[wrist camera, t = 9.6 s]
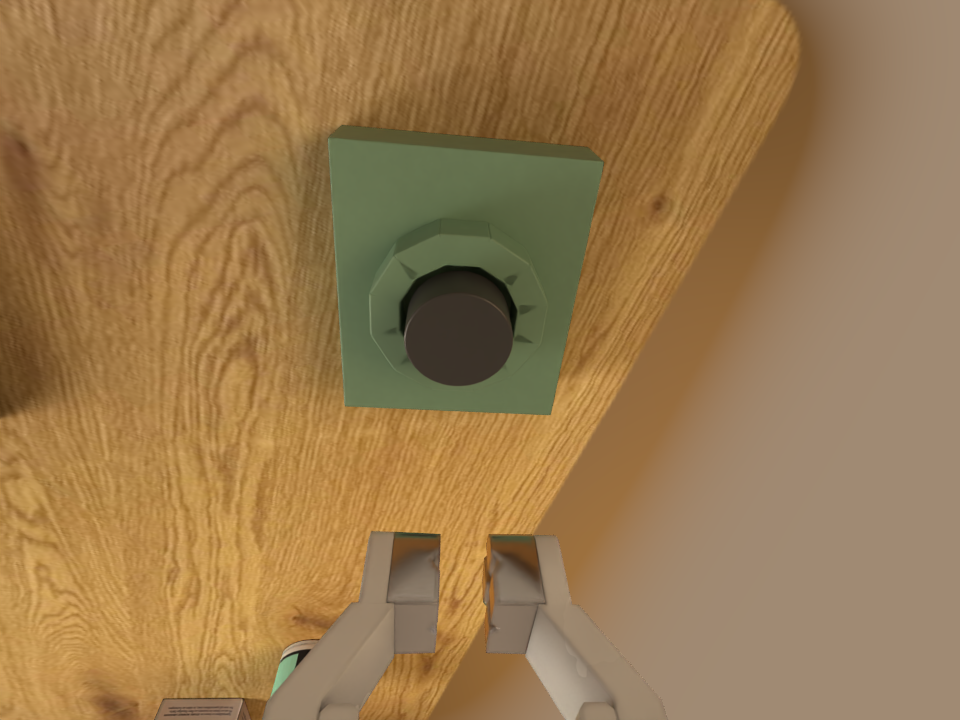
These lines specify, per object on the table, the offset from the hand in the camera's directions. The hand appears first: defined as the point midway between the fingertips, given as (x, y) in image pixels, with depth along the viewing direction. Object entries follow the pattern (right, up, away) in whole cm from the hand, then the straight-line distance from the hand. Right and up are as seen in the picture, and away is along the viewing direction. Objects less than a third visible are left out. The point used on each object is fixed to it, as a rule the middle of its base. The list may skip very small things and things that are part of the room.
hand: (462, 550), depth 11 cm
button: (0, +6, +9) cm, 11 cm away
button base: (-1, +8, +13) cm, 15 cm away
